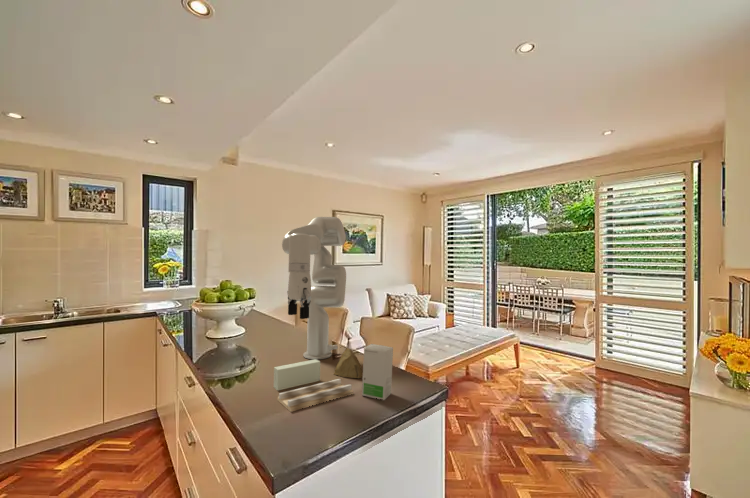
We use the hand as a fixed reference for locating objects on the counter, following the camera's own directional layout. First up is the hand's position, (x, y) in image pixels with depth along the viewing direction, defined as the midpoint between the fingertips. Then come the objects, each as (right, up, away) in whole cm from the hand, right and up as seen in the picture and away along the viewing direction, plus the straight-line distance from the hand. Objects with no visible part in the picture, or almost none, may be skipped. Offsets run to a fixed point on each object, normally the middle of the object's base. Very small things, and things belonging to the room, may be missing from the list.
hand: (298, 316), depth 120 cm
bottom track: (+9, -24, -12) cm, 28 cm away
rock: (+17, -24, +8) cm, 31 cm away
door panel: (0, -24, -1) cm, 24 cm away
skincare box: (+28, -24, -9) cm, 38 cm away
